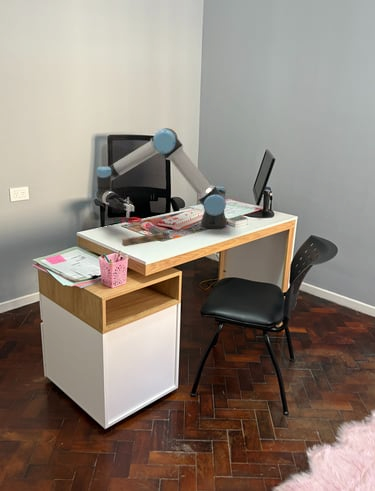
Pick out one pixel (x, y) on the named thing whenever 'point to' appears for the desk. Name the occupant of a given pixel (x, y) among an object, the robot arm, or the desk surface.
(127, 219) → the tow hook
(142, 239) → the guide track
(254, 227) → the desk surface
